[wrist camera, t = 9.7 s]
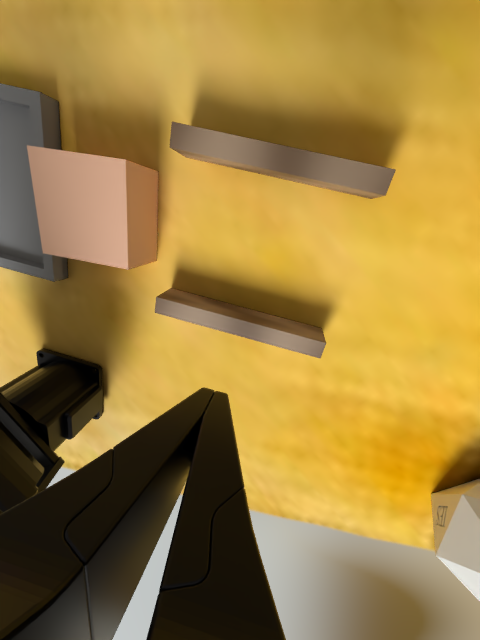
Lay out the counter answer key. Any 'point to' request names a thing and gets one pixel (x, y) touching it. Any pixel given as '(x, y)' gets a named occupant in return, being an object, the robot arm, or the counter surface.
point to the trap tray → (25, 180)
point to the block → (95, 207)
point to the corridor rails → (280, 165)
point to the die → (459, 532)
